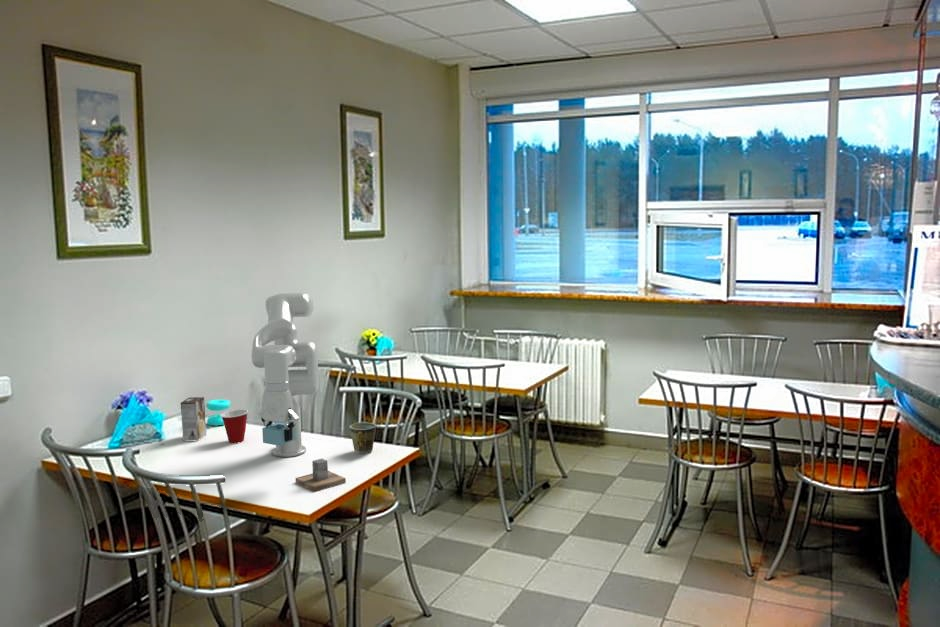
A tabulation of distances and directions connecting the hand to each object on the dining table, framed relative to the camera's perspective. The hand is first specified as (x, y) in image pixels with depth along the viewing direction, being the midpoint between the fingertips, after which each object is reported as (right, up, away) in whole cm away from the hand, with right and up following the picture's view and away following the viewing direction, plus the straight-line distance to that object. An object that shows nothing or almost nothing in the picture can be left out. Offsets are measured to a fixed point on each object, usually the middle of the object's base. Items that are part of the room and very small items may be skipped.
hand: (279, 438), depth 248 cm
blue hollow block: (0, -1, 0) cm, 1 cm away
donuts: (-46, -7, +78) cm, 91 cm away
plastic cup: (-31, -10, +52) cm, 61 cm away
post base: (+13, -15, +4) cm, 20 cm away
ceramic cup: (+23, -11, +36) cm, 44 cm away
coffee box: (-49, -9, +56) cm, 75 cm away
